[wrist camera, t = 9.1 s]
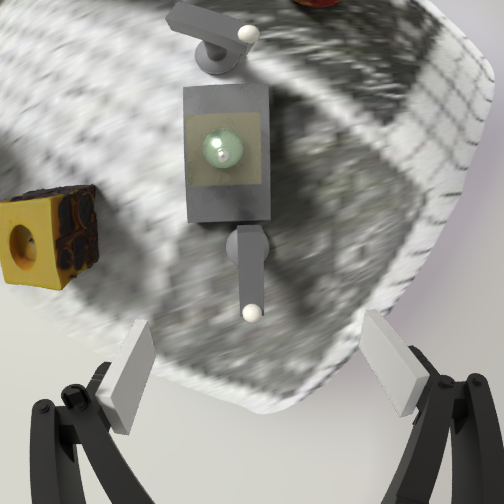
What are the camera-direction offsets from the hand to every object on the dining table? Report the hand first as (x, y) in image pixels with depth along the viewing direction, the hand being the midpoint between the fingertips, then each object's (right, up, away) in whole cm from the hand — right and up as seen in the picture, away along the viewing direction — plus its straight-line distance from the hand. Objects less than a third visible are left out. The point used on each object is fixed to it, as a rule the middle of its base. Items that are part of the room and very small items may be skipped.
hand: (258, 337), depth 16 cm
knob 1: (-4, +28, +11) cm, 30 cm away
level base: (-3, +16, +15) cm, 22 cm away
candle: (-25, +9, +16) cm, 31 cm away
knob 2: (-1, +6, +18) cm, 19 cm away
